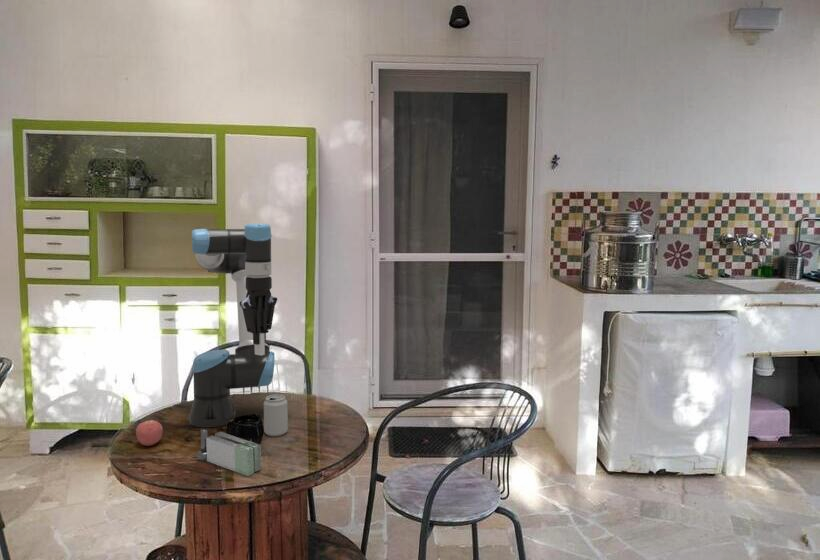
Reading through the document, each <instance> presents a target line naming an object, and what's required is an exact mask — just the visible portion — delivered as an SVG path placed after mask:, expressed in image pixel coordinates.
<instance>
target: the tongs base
mask: <svg viewBox="0 0 820 560" xmlns="http://www.w3.org/2000/svg"><path fill="white" fill-rule="evenodd" d="M196 454H197V461H200V462H208V463H211V464H213V465H215V466H216V465H217V466H218V467H221V468H224V469H227V470H230V471H233V472H235V473H236V474H240V475H242V476H246V477H249V476H251V475H253V474H255V472H254V456H253V448H251V447H248V446H245V445H242V444H240V445H239V444H236V443H233V442H230V441H227V440H224V439H221V438H218V437H215V435H210V436H209V435H208V428H202V429H200V449H199V450H198V451H197V452H196Z"/></svg>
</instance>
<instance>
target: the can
mask: <svg viewBox="0 0 820 560" xmlns="http://www.w3.org/2000/svg"><path fill="white" fill-rule="evenodd" d="M288 413H289V412H288V400H287V399H286V396H285V395H283V394H270V395H268V396H266V397H265V400H264V401H263V432H264V433H265V434H266V435H267V436H269V437H281V436H283V435H285V434H286V433H287V432H288V430H289V429H288V428H289V424H288V421H289V420H288V417H289V416H288Z"/></svg>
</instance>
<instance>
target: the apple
mask: <svg viewBox="0 0 820 560" xmlns="http://www.w3.org/2000/svg"><path fill="white" fill-rule="evenodd" d="M163 434H164V428H163V425H162V424H161V423H160V421H157V420H154V419H151V418H149V419H148V420H145V421H142V422H141V423H139V424H138V425H137V426H136V429H135V436H136V438H137V441H138V442H139V443H140V444H141V445H143V446H145V447H146V446H147V447H149V446H154V445H155V444H157V443H158V442H159V441H160V440H161V438H162V436H163Z"/></svg>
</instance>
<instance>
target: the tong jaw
mask: <svg viewBox="0 0 820 560" xmlns="http://www.w3.org/2000/svg"><path fill="white" fill-rule="evenodd" d="M214 436H215V437H218V438H221V439H224V440H227V441H230V442H233V443H236V444H239V445H240V444H242V445H245V446H248V447H251V448H253V456H254V473H256V472H259V471H261V470H262V462H261V461H262V460H261V459H262V456H261V455H262V454H261V453H262V451H261V444H259V443H256V442H253V441H250V440H246V439H244V438H241V437H237V436H234V435H232V434H229V433H225V432H223V431H219V432H215V433H214Z"/></svg>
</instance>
